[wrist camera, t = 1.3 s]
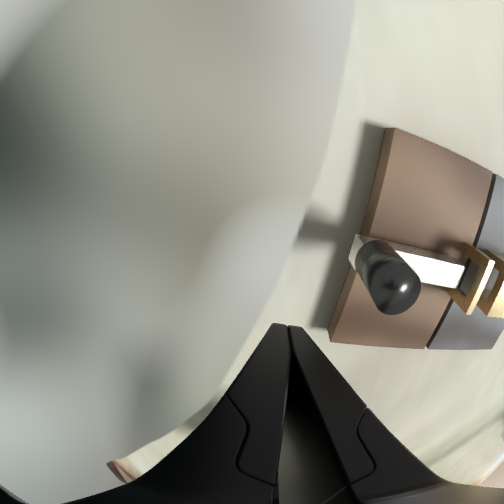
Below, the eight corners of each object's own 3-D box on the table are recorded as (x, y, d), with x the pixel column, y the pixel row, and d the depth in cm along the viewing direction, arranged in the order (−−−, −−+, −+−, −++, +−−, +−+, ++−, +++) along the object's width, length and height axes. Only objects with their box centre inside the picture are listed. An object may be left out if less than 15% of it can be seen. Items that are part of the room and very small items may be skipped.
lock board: (484, 340, 21) (491, 349, 19) (327, 329, 21) (330, 341, 19) (540, 206, 15) (550, 210, 14) (385, 128, 15) (394, 127, 14)
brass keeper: (493, 299, 17) (512, 318, 14) (445, 291, 17) (465, 314, 14) (511, 257, 16) (533, 274, 13) (465, 242, 16) (490, 260, 13)
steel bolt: (443, 282, 17) (480, 324, 12) (343, 263, 17) (367, 312, 12) (455, 251, 16) (498, 288, 11) (354, 226, 16) (385, 264, 11)
